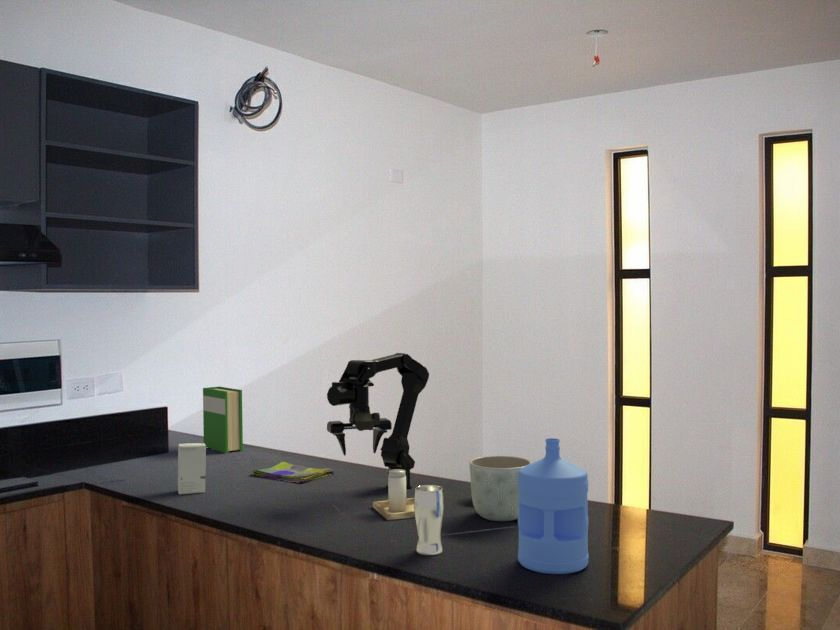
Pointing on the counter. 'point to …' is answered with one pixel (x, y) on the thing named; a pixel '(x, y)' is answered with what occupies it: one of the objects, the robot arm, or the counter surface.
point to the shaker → (397, 490)
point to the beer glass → (429, 518)
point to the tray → (384, 511)
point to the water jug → (553, 514)
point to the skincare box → (191, 468)
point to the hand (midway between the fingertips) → (359, 454)
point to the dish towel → (292, 473)
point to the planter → (496, 486)
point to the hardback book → (222, 419)
